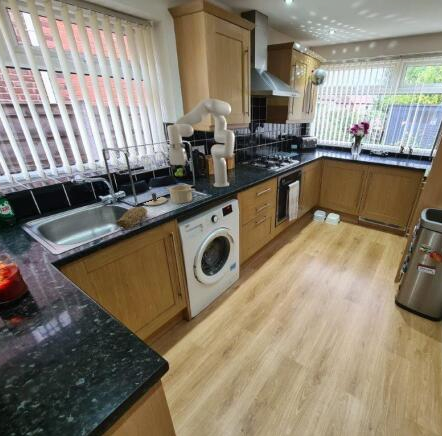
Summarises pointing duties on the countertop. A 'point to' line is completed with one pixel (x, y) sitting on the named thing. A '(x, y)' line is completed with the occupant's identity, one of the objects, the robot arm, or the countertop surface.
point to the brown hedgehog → (132, 217)
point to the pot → (180, 193)
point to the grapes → (179, 172)
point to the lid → (156, 200)
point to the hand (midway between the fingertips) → (180, 174)
